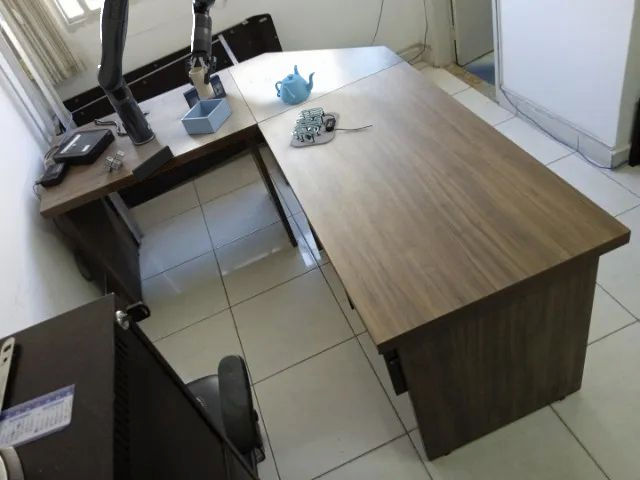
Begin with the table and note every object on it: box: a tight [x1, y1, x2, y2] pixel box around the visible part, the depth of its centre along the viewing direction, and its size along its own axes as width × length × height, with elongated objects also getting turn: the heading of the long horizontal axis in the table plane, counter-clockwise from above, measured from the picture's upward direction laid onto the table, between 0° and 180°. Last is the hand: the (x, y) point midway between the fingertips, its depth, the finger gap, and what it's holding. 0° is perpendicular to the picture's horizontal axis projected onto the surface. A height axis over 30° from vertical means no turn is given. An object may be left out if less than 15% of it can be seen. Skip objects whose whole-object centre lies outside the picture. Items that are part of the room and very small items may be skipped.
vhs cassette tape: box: [182, 74, 227, 110], centre depth 213 cm, size 18×3×10 cm, turn 129°
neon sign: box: [291, 106, 373, 148], centre depth 170 cm, size 21×4×29 cm
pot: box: [188, 67, 214, 97], centre depth 187 cm, size 6×6×10 cm
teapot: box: [274, 64, 316, 105], centre depth 194 cm, size 15×15×10 cm
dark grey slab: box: [131, 144, 175, 183], centre depth 182 cm, size 18×1×5 cm, turn 141°
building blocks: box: [102, 149, 126, 172], centre depth 192 cm, size 5×5×8 cm
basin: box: [180, 97, 232, 135], centre depth 199 cm, size 14×16×7 cm
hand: (199, 84), depth 186 cm, fingers closed on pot, 6 cm apart
